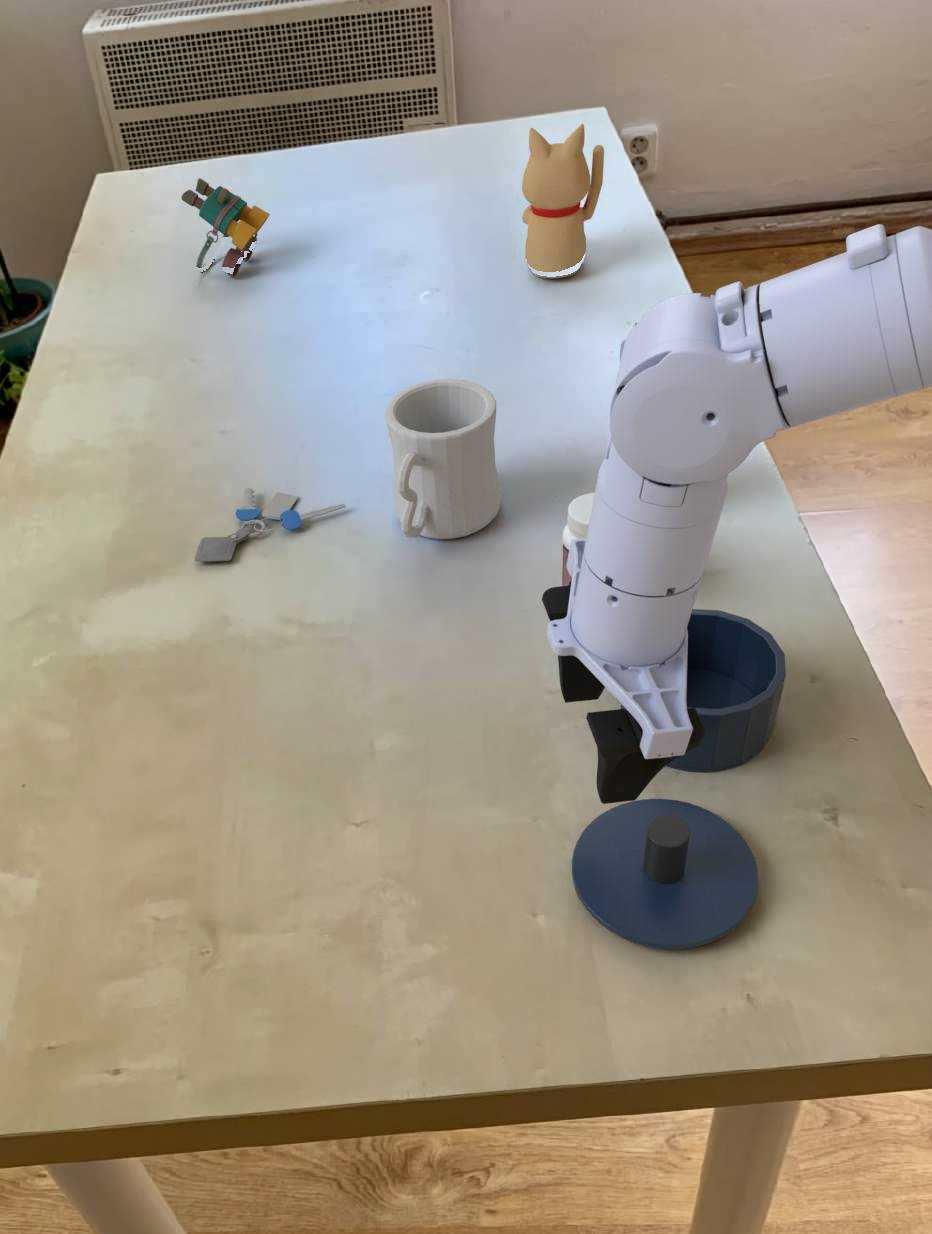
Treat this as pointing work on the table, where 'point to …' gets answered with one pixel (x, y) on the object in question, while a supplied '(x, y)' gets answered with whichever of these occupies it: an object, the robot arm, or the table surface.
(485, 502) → the mug
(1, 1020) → the table surface
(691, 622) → the pot
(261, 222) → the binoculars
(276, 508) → the key chain
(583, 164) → the figurine
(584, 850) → the lid
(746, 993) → the table surface
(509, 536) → the table surface
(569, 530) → the pill bottle
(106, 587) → the table surface
